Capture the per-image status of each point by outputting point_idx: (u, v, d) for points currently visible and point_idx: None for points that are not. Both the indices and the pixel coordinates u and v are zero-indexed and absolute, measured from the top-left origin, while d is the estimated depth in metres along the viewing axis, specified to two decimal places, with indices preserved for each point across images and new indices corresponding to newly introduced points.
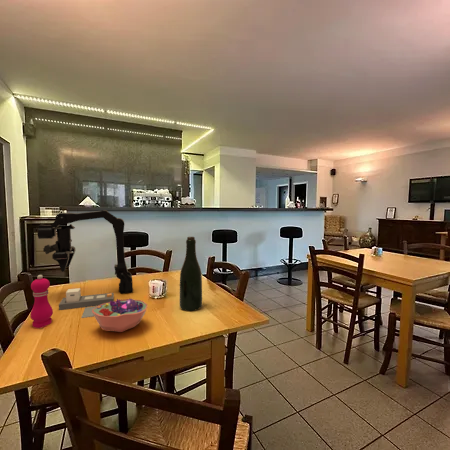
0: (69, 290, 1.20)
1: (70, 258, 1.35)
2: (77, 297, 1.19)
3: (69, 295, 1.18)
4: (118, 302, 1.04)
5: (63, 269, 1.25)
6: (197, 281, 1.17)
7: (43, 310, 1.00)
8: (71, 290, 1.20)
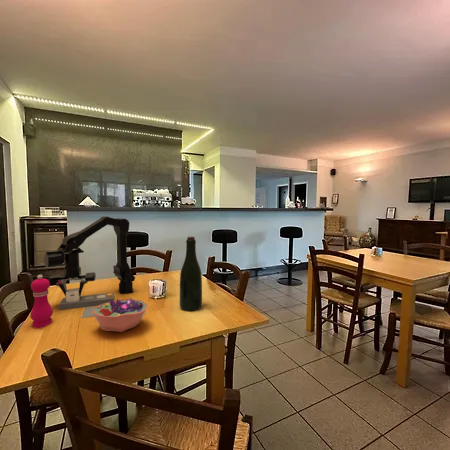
0: (69, 290, 1.20)
1: None
2: (77, 297, 1.19)
3: (69, 295, 1.18)
4: (118, 302, 1.04)
5: None
6: (197, 281, 1.17)
7: (43, 310, 1.00)
8: (71, 290, 1.20)
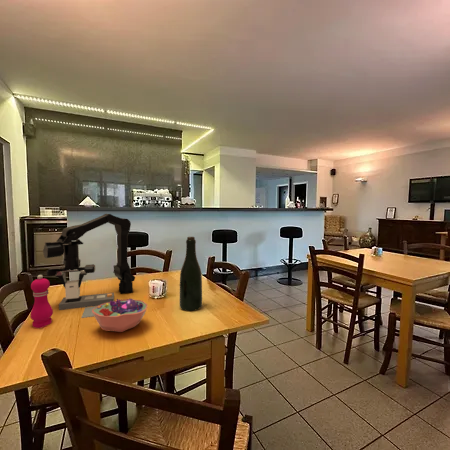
0: (68, 282, 1.20)
1: (79, 279, 1.20)
2: (76, 289, 1.19)
3: (68, 286, 1.17)
4: (118, 302, 1.04)
5: None
6: (197, 281, 1.17)
7: (43, 310, 1.00)
8: (70, 282, 1.20)
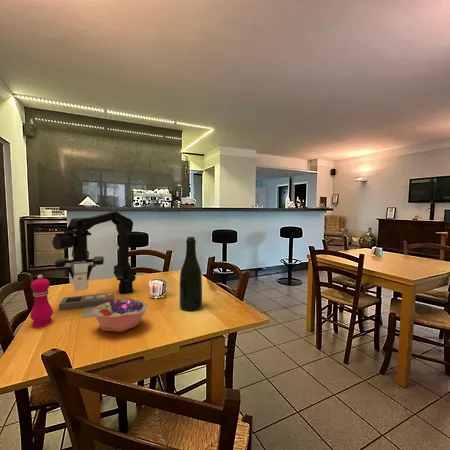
0: (77, 273, 1.17)
1: None
2: (85, 281, 1.16)
3: (77, 278, 1.15)
4: (118, 302, 1.04)
5: None
6: (197, 281, 1.17)
7: (43, 310, 1.00)
8: (79, 274, 1.17)
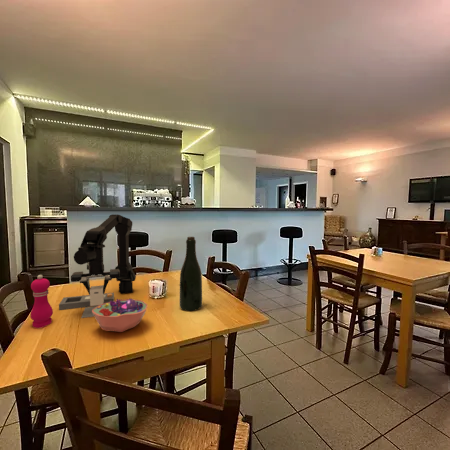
0: (92, 287, 1.13)
1: None
2: (101, 295, 1.12)
3: (93, 293, 1.11)
4: (118, 302, 1.04)
5: None
6: (197, 281, 1.17)
7: (43, 310, 1.00)
8: (94, 287, 1.14)
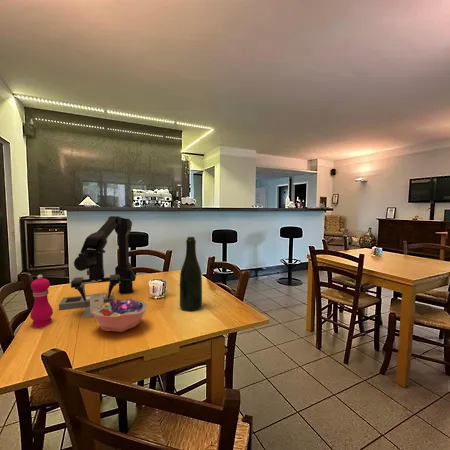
0: (93, 295, 1.14)
1: None
2: (101, 302, 1.13)
3: (93, 300, 1.11)
4: (118, 302, 1.04)
5: None
6: (197, 281, 1.17)
7: (43, 310, 1.00)
8: (95, 295, 1.14)
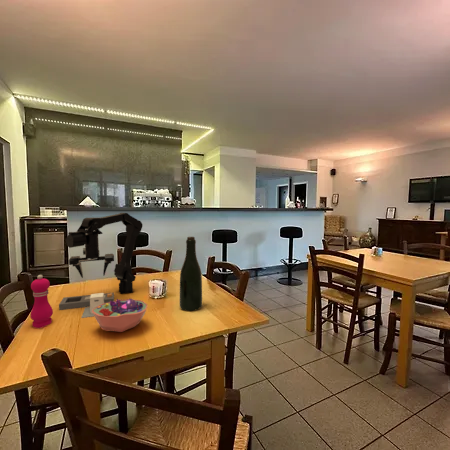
0: (93, 295, 1.14)
1: None
2: (101, 302, 1.13)
3: (93, 300, 1.11)
4: (118, 302, 1.04)
5: None
6: (197, 281, 1.17)
7: (43, 310, 1.00)
8: (95, 295, 1.14)
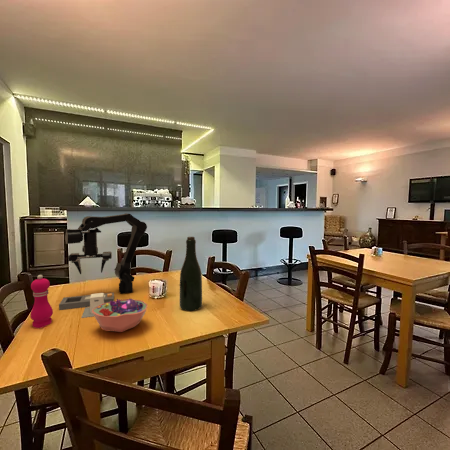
0: (93, 295, 1.14)
1: None
2: (101, 302, 1.13)
3: (93, 300, 1.11)
4: (118, 302, 1.04)
5: None
6: (197, 281, 1.17)
7: (43, 310, 1.00)
8: (95, 295, 1.14)
